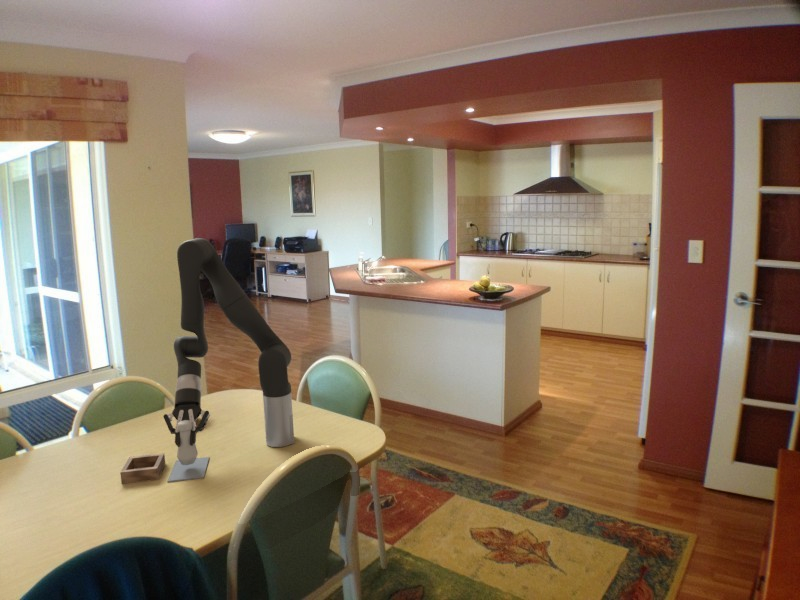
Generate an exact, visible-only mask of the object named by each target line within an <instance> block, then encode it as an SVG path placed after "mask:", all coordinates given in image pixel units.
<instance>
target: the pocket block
mask: <svg viewBox="0 0 800 600" xmlns="http://www.w3.org/2000/svg"><path fill="white" fill-rule="evenodd" d="M165 455H166V454H165V453H164V452H163V453H154V454H152V453H151V454H145V455H136V456H129V457H128V458H127V460H126V462H125V464H124V466H123V467H122V469H121V471H120V472H119V473H120V475H119V476H120V481H121V484H131V483H139V482H148V481H156V480H160V478H161V475H162V472H163V470H164V467H165V466H166V458H165Z"/></svg>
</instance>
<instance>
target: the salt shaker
mask: <svg viewBox="0 0 800 600" xmlns="http://www.w3.org/2000/svg"><path fill="white" fill-rule="evenodd" d="M176 426H177V429H178V431H180V447H178V446H177V447H178V448H177V453H176V454H177V455H176V457H177V460H179V461H180V463H181V464H182V465H190V464H193V463H194V462H195V460H196V458H198V457H197V456H198V449H197V445H196V442H195V443H194V444H193V446H191V445H190V432H191V429H192V426H193V424H192V422H191V421H190V420H183V421H180V422H179V423H178V424H177V423H176Z"/></svg>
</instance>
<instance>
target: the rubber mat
mask: <svg viewBox="0 0 800 600" xmlns="http://www.w3.org/2000/svg"><path fill="white" fill-rule="evenodd" d="M209 461H210V456H206V457H196V460H195V462H194V463H193V464H190V465H182V464H181V463H180V461H179V460H178V459H177V460H175V461H174V465H173V467H172V468H171V472H170V473H169V475H168V478H167V483H174V482H182V481H189V480H190V481H191V480H198V479H204V478H205V475H206V472H207V468H208V466H209V465H208V464H209Z"/></svg>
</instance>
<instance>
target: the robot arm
mask: <svg viewBox="0 0 800 600" xmlns="http://www.w3.org/2000/svg"><path fill="white" fill-rule="evenodd" d="M176 259H177V265H178V272H179V273H178V274H179V284H180V293H181V294H180V296H181V298H180V300H181V305H180V307H181V309H180V310H181V311H180V328H181V329H182V330H183V331H185V332H190V333H193V334H195V336H194V335H188V336H187V335H184V336H183V335H181V336H178V337H176V339H175V340H174V343H173V350H174V355H175V357H176V362H177V378H176V379H177V380H176V384H175V394H174V405H173V406H174V408H173V410H172V412H171V413H167V414H166V413H165V414H163V419H164V421H165V425H166V426H167V429H168V431H169V433H170V434H171V435H175V436H174V443H175V445H176V447H180V431H178V429H177V424H178V423H179V422H180V421H183V420H190V421H191V422H192V424H193V426H192V429H191V432H190V445H191V446H193V444H194V443H195V444H196V442H197V433H199V432H202V431H204V428H205V426H206V425H207V422H208V421H209V418H210V416H211V414H210V412H209V410H202V407H200V404H201V398H202V364H201V363H200V362H199V361H198V360H196V359H197V358H198V359H199V358H204V357H206V355H207V353H208V351H209V344H208V340H207V337H206V334H205V327H204V324H205V323H204V322H205V321H204V320H205V303H204V297H203V294H202V291H201V285H200V279H201V278H200V277H201V273H203V274H204V276H205V277H206V278H207V279H208V281H209V283H210V285H211V287H212V290H213V294H214V297H215V300H216V303H217V305H218V307H219V309H220V310H221V311H222V313H223V314H224V316H225V317H226V318H227V319H228V321H229V322H230V323H231V324H232V325H233V326H235V328H237V329H238V330H240V331H241V333H244V334H245V335H247V336H248V337H249V338H250V340H252V341H253V342H254V343H255V345H256V346H257V348H258V349H259V351H260V354H259V357H258V362H257V363H258V364H257V365H258V375H259V377H258V378H259V385H260V387H261V390H262V401H263V402H262V403H263V414H264V429H265V430H264V431H265V443H266V445H267V446H269V447H271V448H282V447H286V446H289V445H292V444H295V431H294V413H293V401H292V400H293V399H292V397H293V396H292V384H291V382H289V377H288V366H289V365H290V364H291V362H292V352H291V351H290V348H288V346H287V345H286V344H285V342H284V341H282V339H281V338H280V337H279V336H278V335H277V334H276V333H275V332H274V331H273V330H272V328H271V327H270V326H269V325H268V323H267V321H266V319H265V318H264V316H263V315H261V313H260V312H259V310H258V309H257V307H256V306H255V304H254V303H253V301H252V300H251V299H250V298H249V296H248V295H247V293H246V292H245V291H244V289H243V288H242V287H241V286H240V285H239V283H238V282H237V280H236V279H235V277H233V275H232V274H231V273H230V271H229V270H228V268H227V267H226V266H225V264H224V262H223V260H222V258H221V257H220V255H219V254H218V252H217V250H216V248H215V247H214V245H213V244H212V243H211V242H210V241H209V240H207V239H205V238H202V237H197V238H192V239H188V240H185V241H183V242H182V243H180V245H179V246H178V248H177V251H176ZM190 358H195V359H190ZM199 417H201V419H200V420H199V423H198V425H197V423H196V421H197V419H199ZM173 418H175V420H176V426H175V428H174V427H173V424H172V421H173Z"/></svg>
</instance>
